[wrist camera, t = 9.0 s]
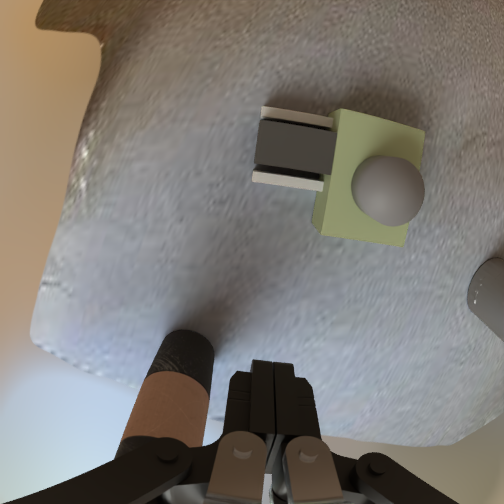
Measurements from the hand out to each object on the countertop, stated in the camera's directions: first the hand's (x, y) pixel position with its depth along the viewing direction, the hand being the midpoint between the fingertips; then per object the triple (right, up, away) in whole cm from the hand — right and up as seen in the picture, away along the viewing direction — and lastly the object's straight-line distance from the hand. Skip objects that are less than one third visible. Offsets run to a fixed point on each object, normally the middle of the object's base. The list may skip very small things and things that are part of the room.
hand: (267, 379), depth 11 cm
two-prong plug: (+8, +14, +21) cm, 26 cm away
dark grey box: (+3, +16, +21) cm, 26 cm away
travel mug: (-9, -8, +29) cm, 31 cm away
